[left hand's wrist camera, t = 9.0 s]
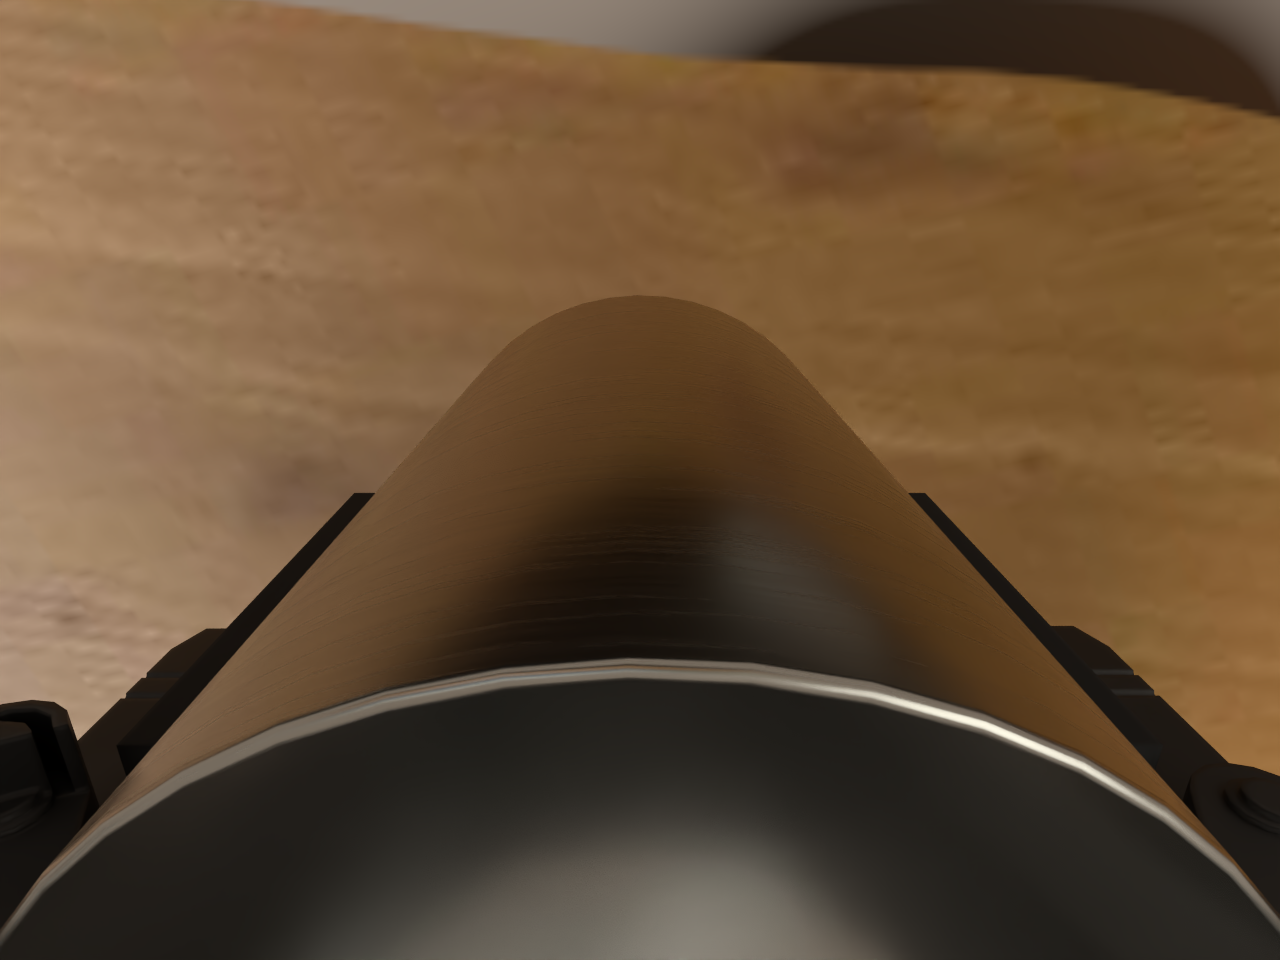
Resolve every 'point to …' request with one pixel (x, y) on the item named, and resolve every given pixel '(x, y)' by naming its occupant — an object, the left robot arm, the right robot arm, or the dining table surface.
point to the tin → (642, 713)
